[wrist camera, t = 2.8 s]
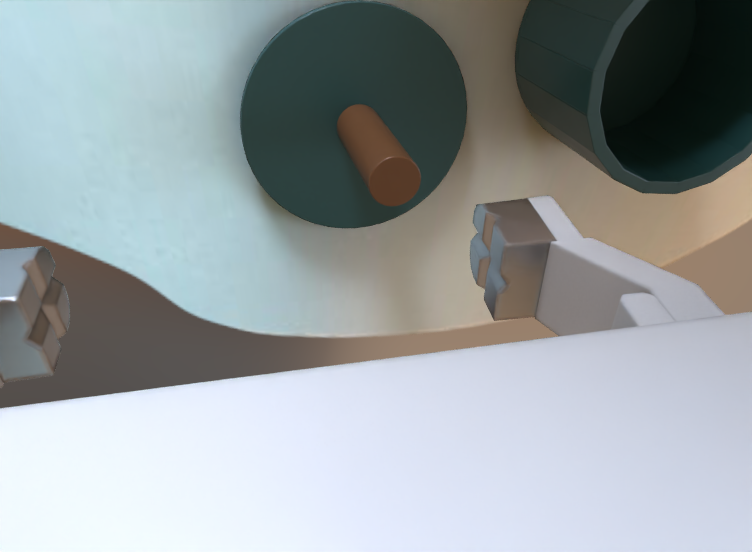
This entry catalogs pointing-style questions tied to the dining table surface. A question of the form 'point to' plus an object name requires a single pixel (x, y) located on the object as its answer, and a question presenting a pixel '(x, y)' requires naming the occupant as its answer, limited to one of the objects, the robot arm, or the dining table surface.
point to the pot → (642, 85)
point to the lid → (353, 114)
